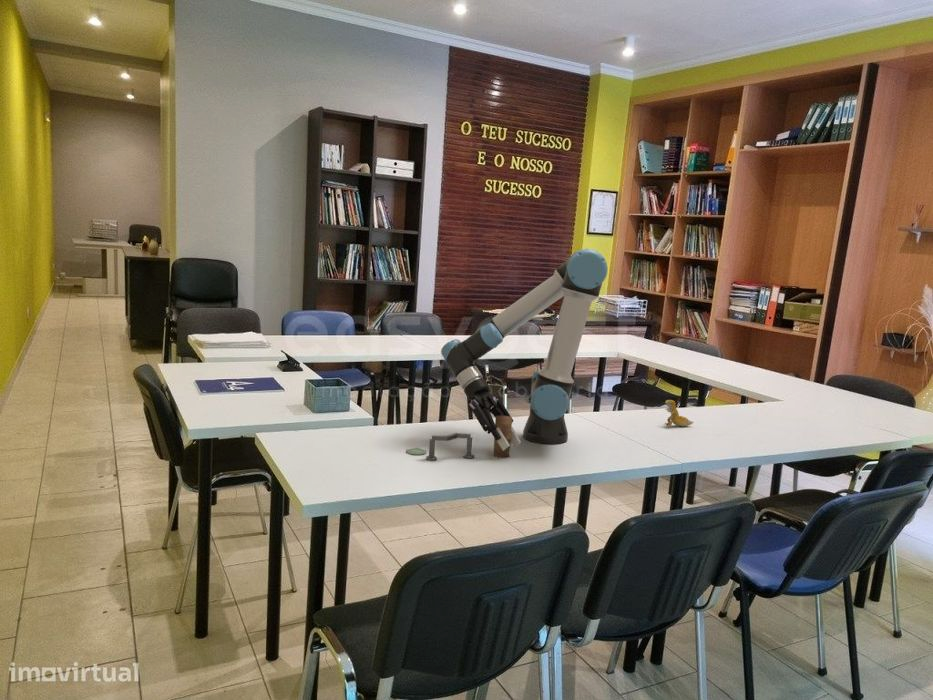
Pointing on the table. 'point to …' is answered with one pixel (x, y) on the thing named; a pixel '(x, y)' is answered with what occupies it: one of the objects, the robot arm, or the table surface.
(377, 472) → the table surface
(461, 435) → the grey bent handle
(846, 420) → the table surface
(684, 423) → the toy
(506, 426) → the dowel
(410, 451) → the pad
